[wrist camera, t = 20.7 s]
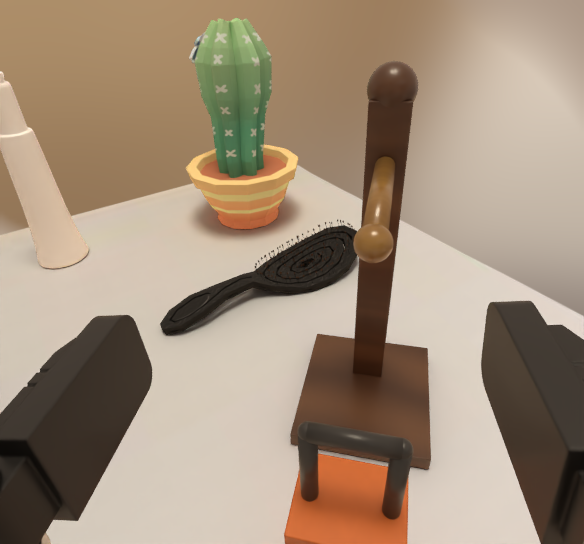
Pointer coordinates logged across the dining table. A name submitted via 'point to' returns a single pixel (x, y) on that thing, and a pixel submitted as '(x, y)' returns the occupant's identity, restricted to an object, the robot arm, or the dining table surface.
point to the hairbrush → (275, 275)
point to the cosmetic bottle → (37, 188)
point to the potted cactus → (238, 128)
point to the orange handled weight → (349, 489)
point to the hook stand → (375, 298)
